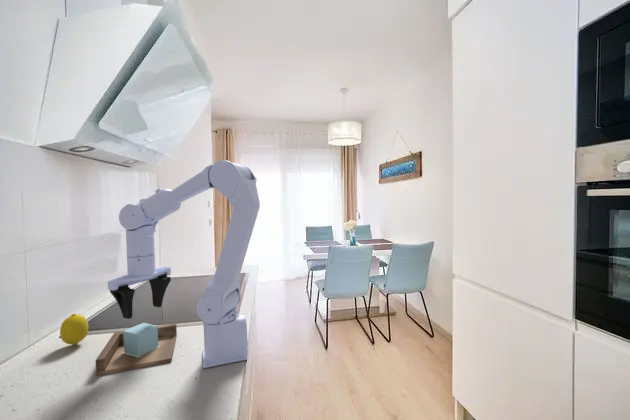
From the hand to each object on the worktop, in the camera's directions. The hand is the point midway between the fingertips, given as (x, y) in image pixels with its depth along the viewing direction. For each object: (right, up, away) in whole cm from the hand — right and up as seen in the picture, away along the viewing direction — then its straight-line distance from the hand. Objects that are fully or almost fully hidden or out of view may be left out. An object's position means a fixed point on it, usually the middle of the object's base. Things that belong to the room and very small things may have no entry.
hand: (143, 311), depth 71 cm
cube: (0, -9, -1) cm, 9 cm away
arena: (0, -9, -1) cm, 9 cm away
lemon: (-19, -10, +4) cm, 22 cm away
